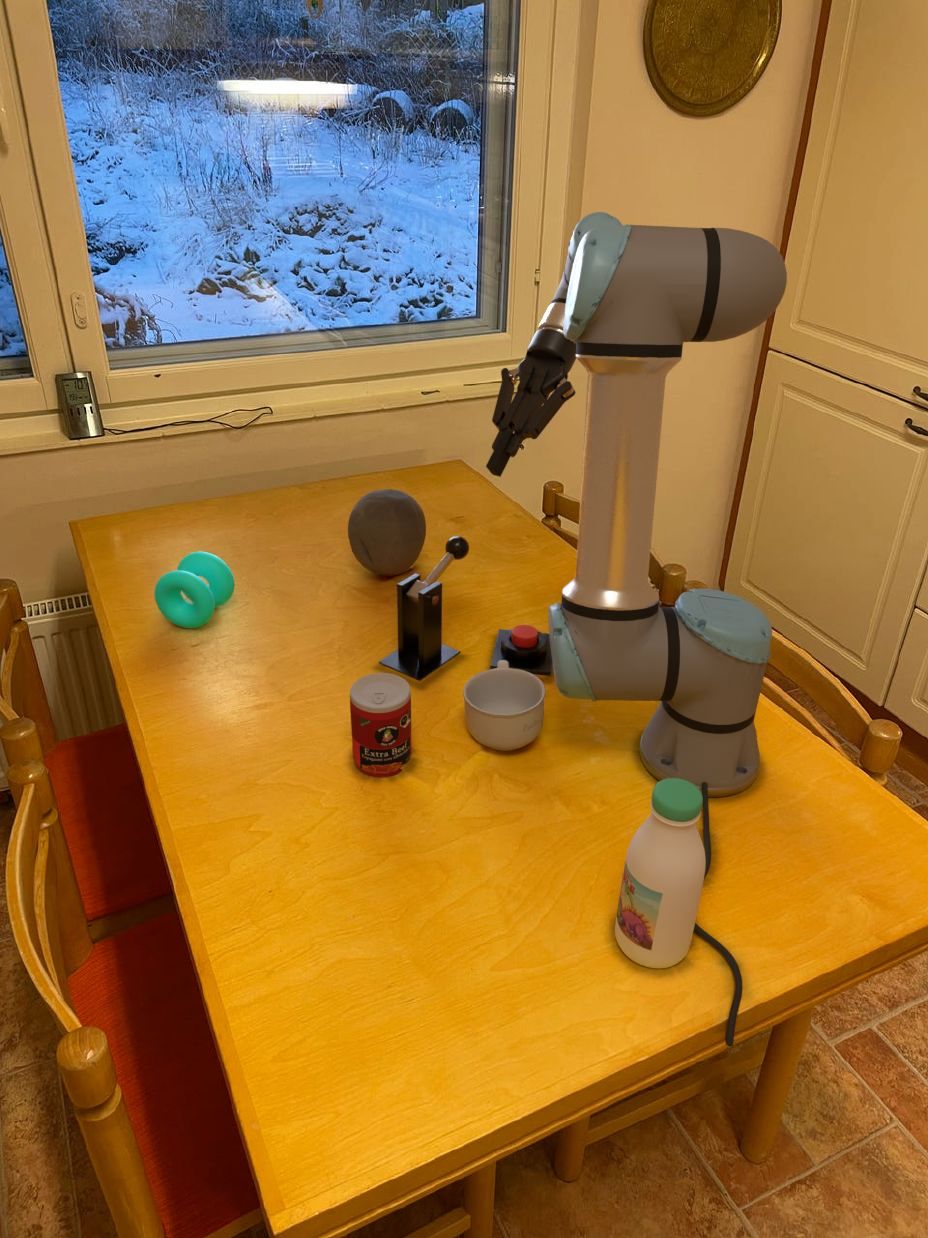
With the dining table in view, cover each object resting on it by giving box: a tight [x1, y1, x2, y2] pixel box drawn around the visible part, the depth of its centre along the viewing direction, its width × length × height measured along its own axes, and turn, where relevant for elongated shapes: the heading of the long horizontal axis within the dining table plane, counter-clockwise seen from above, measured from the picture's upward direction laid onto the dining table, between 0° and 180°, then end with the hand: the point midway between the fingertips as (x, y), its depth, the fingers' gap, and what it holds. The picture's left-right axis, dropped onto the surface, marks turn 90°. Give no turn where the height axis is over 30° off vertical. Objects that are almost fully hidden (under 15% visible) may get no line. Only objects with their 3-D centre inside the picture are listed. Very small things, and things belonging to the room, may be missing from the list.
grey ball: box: [347, 488, 427, 577], centre depth 161 cm, size 14×14×15 cm
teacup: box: [462, 660, 547, 752], centre depth 122 cm, size 14×11×8 cm
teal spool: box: [153, 551, 236, 629], centre depth 147 cm, size 10×10×10 cm
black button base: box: [489, 628, 553, 677], centre depth 139 cm, size 11×9×4 cm
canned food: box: [349, 672, 412, 778], centre depth 115 cm, size 8×8×11 cm
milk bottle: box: [614, 778, 706, 969], centre depth 89 cm, size 8×8×20 cm
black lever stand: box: [378, 573, 461, 682], centre depth 135 cm, size 10×8×14 cm
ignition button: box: [511, 624, 539, 648], centre depth 138 cm, size 4×4×2 cm
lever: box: [406, 535, 470, 606], centre depth 135 cm, size 13×4×4 cm, turn 144°
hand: (493, 471), depth 138 cm, fingers closed
